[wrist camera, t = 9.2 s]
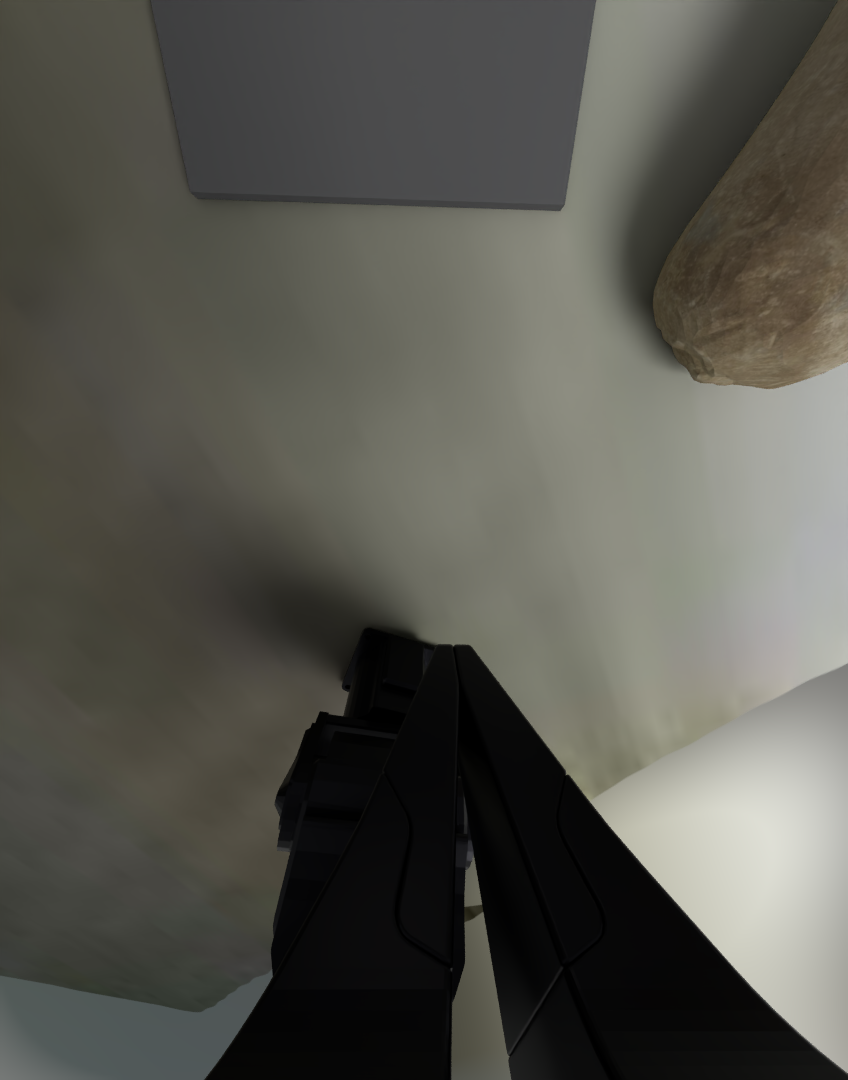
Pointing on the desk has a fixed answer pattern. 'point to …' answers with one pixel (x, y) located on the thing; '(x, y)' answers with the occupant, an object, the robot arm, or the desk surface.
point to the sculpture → (771, 241)
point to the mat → (377, 99)
